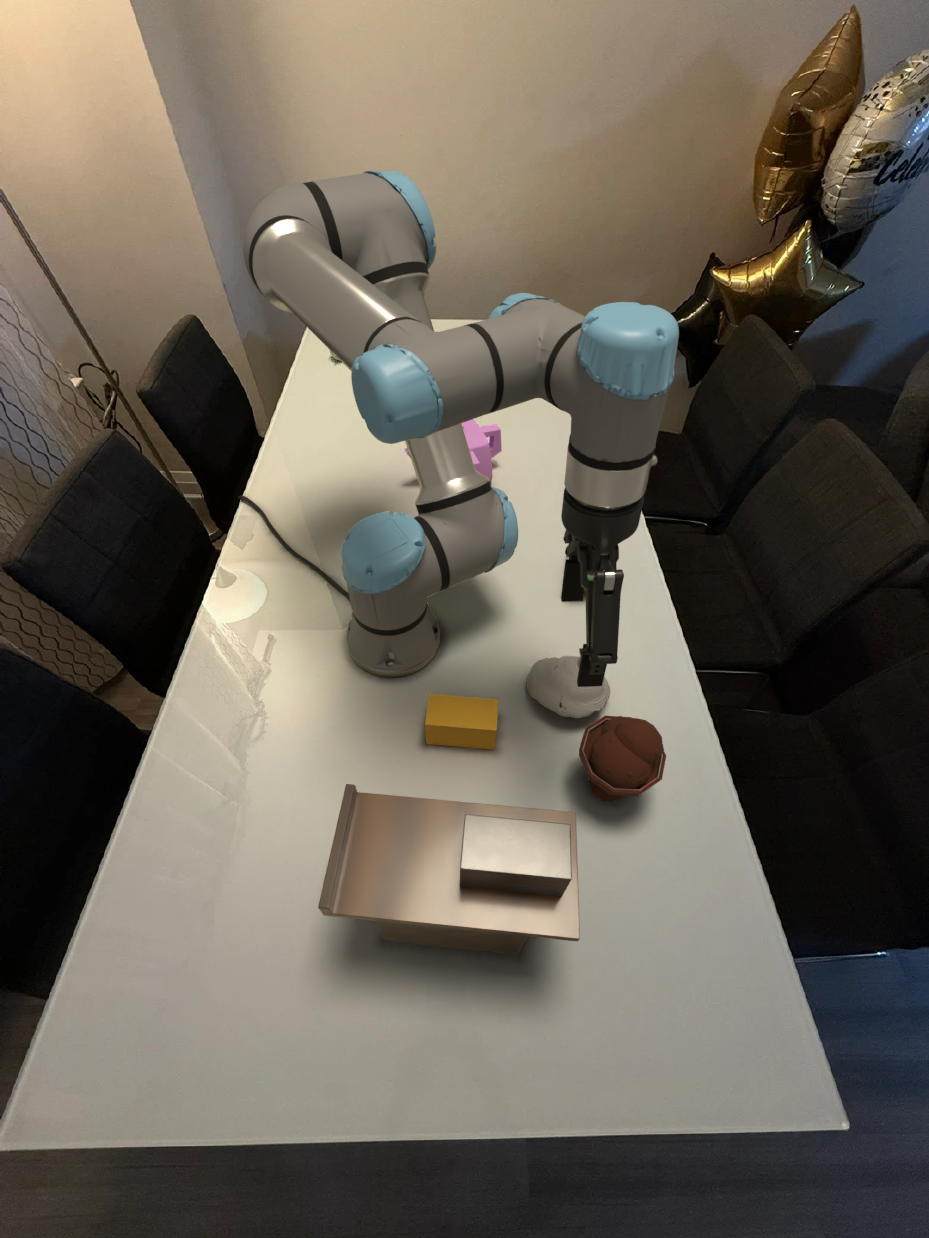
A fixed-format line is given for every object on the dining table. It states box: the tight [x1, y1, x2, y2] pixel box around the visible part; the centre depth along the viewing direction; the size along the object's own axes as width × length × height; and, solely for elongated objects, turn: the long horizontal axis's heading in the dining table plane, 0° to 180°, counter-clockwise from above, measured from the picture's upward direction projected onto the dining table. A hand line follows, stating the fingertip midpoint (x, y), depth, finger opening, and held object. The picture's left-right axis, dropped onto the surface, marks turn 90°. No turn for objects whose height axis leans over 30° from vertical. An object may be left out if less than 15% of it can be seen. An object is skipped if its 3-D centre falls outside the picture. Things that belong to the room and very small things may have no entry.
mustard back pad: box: [424, 693, 500, 751], centre depth 84 cm, size 10×5×6 cm, turn 85°
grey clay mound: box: [526, 654, 611, 719], centre depth 87 cm, size 12×12×11 cm
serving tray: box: [318, 783, 581, 955], centre depth 63 cm, size 24×12×23 cm, turn 85°
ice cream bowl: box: [578, 715, 667, 802], centre depth 76 cm, size 11×11×15 cm
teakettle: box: [404, 419, 503, 484], centre depth 120 cm, size 17×17×12 cm
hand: (579, 639), depth 70 cm, fingers open, 13 cm apart
